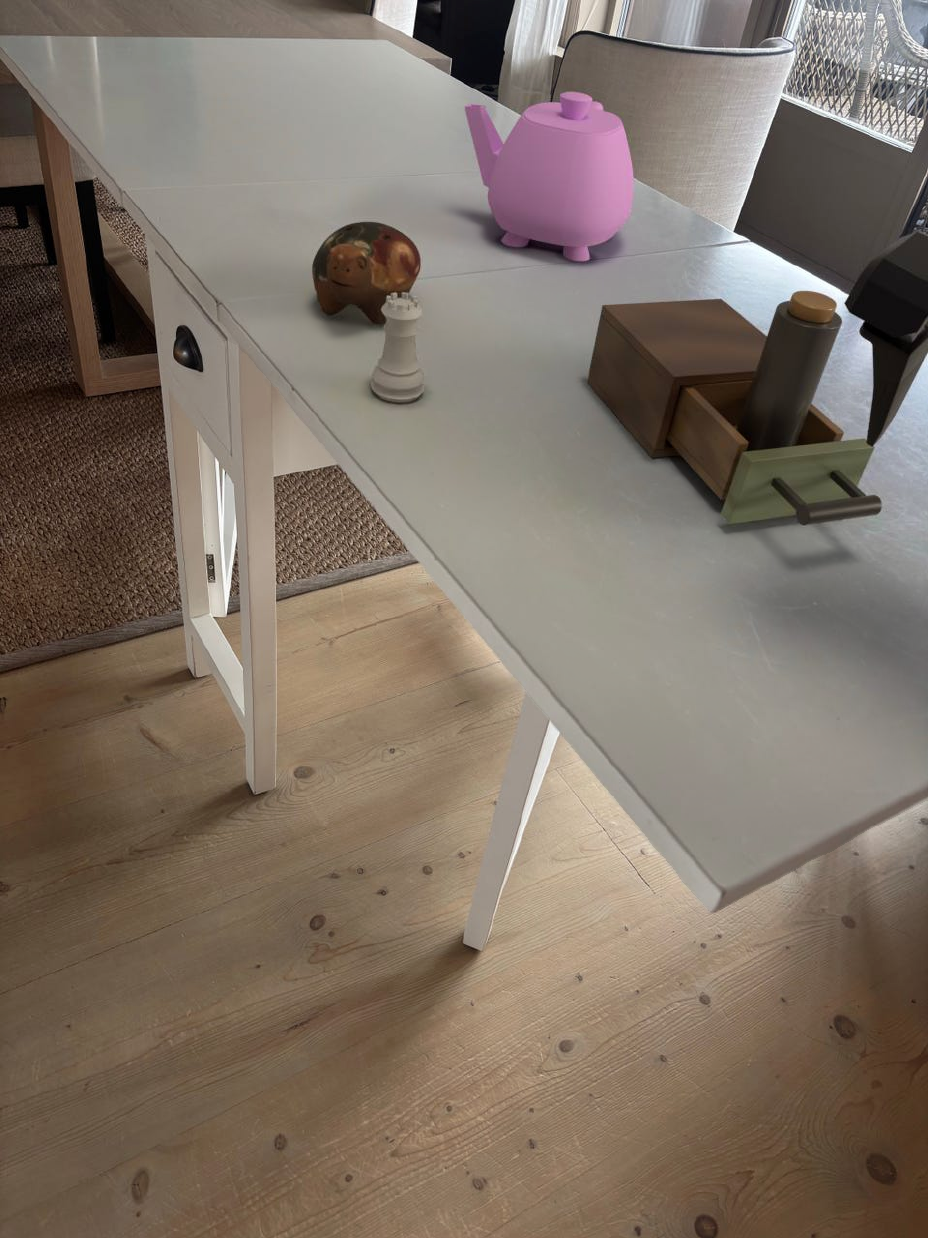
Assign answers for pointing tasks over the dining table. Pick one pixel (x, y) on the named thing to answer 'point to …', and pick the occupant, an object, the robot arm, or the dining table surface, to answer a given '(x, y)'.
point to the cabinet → (667, 359)
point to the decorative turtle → (364, 268)
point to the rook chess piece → (399, 352)
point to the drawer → (769, 461)
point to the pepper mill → (789, 370)
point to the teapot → (556, 173)
